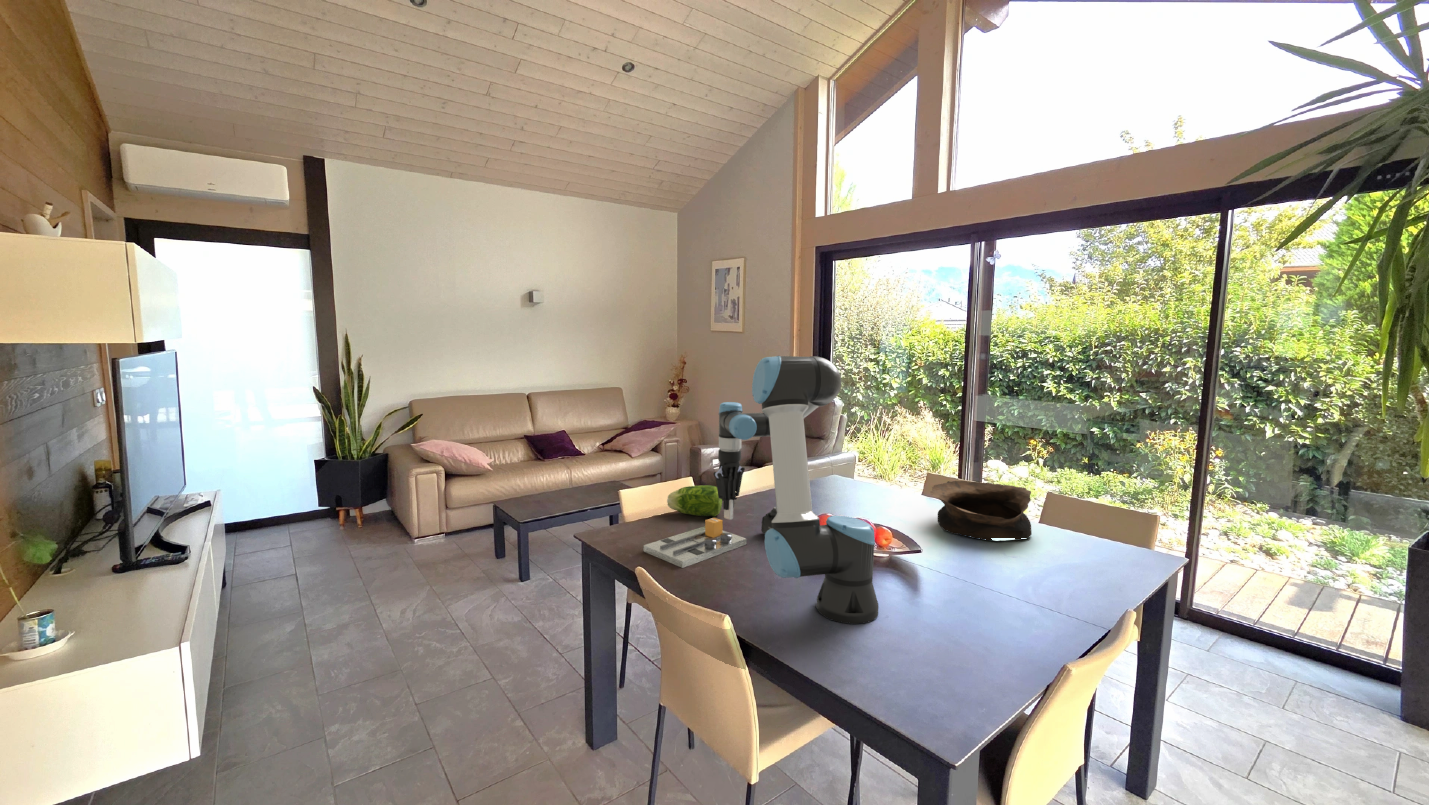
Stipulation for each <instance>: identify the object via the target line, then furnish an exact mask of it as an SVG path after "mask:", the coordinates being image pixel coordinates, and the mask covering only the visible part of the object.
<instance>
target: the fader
mask: <svg viewBox="0 0 1429 805" xmlns="http://www.w3.org/2000/svg"><path fill="white" fill-rule="evenodd" d="M723 521H724V520H723V519H719V518H717V517H712V518H709V519H705V521H704V522H705V523H704V524H705V525H704V526H705V535H707V536H709V537H712V538H714V537H717V536H720V535H721V533H723V531H724V530H723V529H724V528H723V527H724V525H723Z"/></svg>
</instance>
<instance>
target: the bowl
mask: <svg viewBox="0 0 1429 805" xmlns="http://www.w3.org/2000/svg"><path fill="white" fill-rule="evenodd" d="M1031 494H1032V491H1030V490H1028V489H1027V488H1026V487H1022V486H1019V487H1018V486H1014V485H1009V484H1001V483H992V482H981V481H966V480H953V481H950V480H949V481H946V482H944V483H939V484H934V485H932V486H931V490H930V495H932V496H933V497H934V498H936V499H939V500H940V501H941V502H942V503H943V504H944V505H942V507H941V508H940V509H939V510H937V522H938V525H939V526H940V527H941V529H943V530H944V531H946V532H948V533H950V534H954V533H955V534H956V535H959V534H961V535H960V536H964V535H966V536H965V537H968V536H971V537H970V538H972V537H973V538H972V539H976V538H980V539H979V540H982V539H986V540H985V541H988V540H992V539H991V538H1015V539H1021V538H1027V539H1029V538H1030V537H1031V536H1032V524H1031V521H1030V519H1029V517H1028V516H1027V514H1026V513H1024V512H1025V511H1026V510H1027V509H1028V508H1029V503H1030V502H1031V501H1032V499H1031ZM1029 536H1030V537H1029ZM1028 537H1029V538H1028Z"/></svg>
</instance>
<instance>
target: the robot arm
mask: <svg viewBox="0 0 1429 805" xmlns="http://www.w3.org/2000/svg"><path fill="white" fill-rule="evenodd" d="M752 377H753V378H752V381H751V382H752V384H751V385H752V386H751V392H752V397H753V401H754V402H755V403H757V404H759V405H760V404H761V412H754V413H753V412H745V413H744V412H743V405H742V403H740V402H734V401H726V402H721V403H720V404H719V408H718V448H719V449H718V451H717V452H718V455H717V456H718V457H717V458H718V461H719V466H718V470H717V471H714V472H713V476H714V478H715V483H716V484H715V485H716V487H717V490H718V496H719V498H720V499H722V506H723V518H724V519H727V520H729V521H731V520H733V519H734V507H735V500H736V501H737V499H738V497H739V496H740V492H741V490H740V489H741V487H742V480H743V474H744V473H745V470H746V469H745V467H743V466H741V463H740V462H741V461H742V450H741V449H742V441H747V440H749V439H751V438H761V437H770V447H771V448H770V449H771V458H772V471H773V482H774V495H775V505H776V506H775V507H777V515H776V516H775V518H774V519H773V520H772V529H769V530H768V531H767V532H766V533H765V534H764V549H765V554H766V557H767V560H768V563H769V566H770V567H771V569H772V571H773V572H774V573H775V574H776V575H777V576H778V577H780V578H783V579H789V578H791V579H792V578H794V579H799V578H800V577H811V576H822V575H824V578H823V582H822V584H821V586H820V589H819V591H818V594H817V596H816V610H817V612H818V613H819V614H820V615H822V616H823V617H825V618H827V619H829V620H831V621H834V622H836V623H837V622H838V623H843V624H850V625H851V624H852V625H856V624H857V625H858V624H859V623H861V624H866V623H870V622H872V621H874V620H875V619H877V618H878V617H879V616H878V615H879V608H880V607H879V602H878V598H877V595H876V591H875V587H874V584H873V574H874V559H875V558H874V555H875V554H874V553H875V545H876V540H875V538H876V537H875V530H874V527H873V525H871V524H870V523H869V522H867V521H865V520H862V519H860V518H855V517H852V516H845V515H830V516H827V517H826V520H825V523H826V524H821V523H820V522H821V521H820V517H819V516H818V515H817V514H815V513H814V512H813V506H812V505H813V504H812V493H811V492H812V491H811V485H810V473H809V461H808V453H807V452H808V451H807V443H806V442H807V441H806V432H805V431H806V430H805V429H806V428H805V421H804V420H805V418H807V416H809V415H810V414H812V413H813V412H814V411H815V410H816V409H818V408H819V407H824V406H827V405H829V404H830V403H832V402H833V400H836V398H837V396H838V395H839V393H840V391H841V388H842V377H841V374H840V372H839V370H838V367H836V366H835V364H833V362H831V361H830V360H828V359H826V358H824V357H820V356H816V355H815V356H814V355H813V356H810V355H809V356H791V355H789V356H788V355H784V356H783V355H781V356H780V355H776V356H766V357H763V358H761V359H760V360H759V361H758V363H757V365H756V367H755V369H754V372H753V376H752Z"/></svg>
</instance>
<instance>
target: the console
mask: <svg viewBox="0 0 1429 805" xmlns="http://www.w3.org/2000/svg"><path fill="white" fill-rule="evenodd" d="M747 540H748V539H747V538H745V537H743V536H740V535H737V534H735V533H732V532H728V531H726V530H723V533H721V535H720V536H717V537H714V538H712V537H709V536H707V535H705V525H704V526H701V527H698V528H695V529H692V530H687V531H685V532H682V533H678V534H675V535H672V536H669V537H666V538H663V539H659V540H657V541H653V542H649V543H646V544H643V552H644V553H646V554H648V555H651V556H653V557H655V558H657V559H661V560H663V561H665V562H667V563H670V564H672V565H674V566H676V567H679V568H682V569H684V568H686V567H689V566H692V565H695V564H697V563H700V562H703V561H706V560H708V559H710V558H714V557H716V556H719V555H722V554H724V553H727V552H730V551H733V550H735V549H738V548H741V547H744V546H746V545H747Z"/></svg>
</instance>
